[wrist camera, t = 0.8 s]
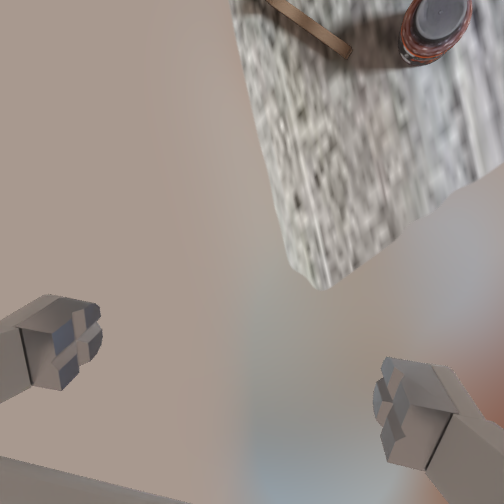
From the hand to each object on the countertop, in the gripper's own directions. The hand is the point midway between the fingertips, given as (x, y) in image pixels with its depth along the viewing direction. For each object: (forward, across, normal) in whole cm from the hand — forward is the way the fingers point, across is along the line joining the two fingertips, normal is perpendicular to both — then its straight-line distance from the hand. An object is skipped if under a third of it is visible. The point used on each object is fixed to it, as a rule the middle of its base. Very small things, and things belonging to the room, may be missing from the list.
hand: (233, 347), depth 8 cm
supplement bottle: (+39, -14, -18) cm, 45 cm away
